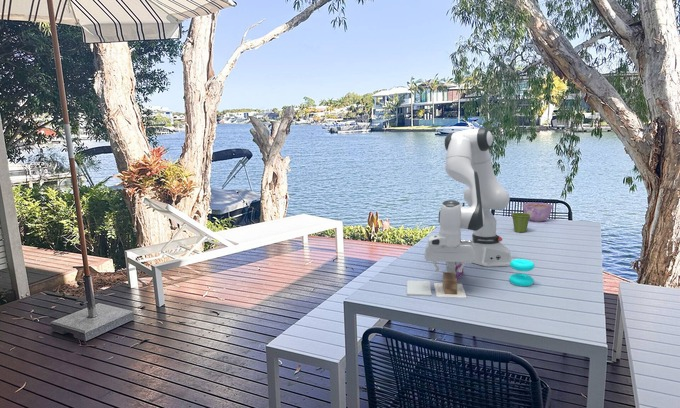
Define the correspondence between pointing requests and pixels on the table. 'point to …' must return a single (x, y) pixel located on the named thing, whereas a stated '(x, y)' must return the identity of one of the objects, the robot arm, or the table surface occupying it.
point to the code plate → (441, 293)
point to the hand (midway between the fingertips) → (448, 271)
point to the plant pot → (520, 221)
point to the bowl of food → (537, 210)
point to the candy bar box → (454, 268)
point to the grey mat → (418, 288)
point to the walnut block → (449, 283)
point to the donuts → (519, 277)
